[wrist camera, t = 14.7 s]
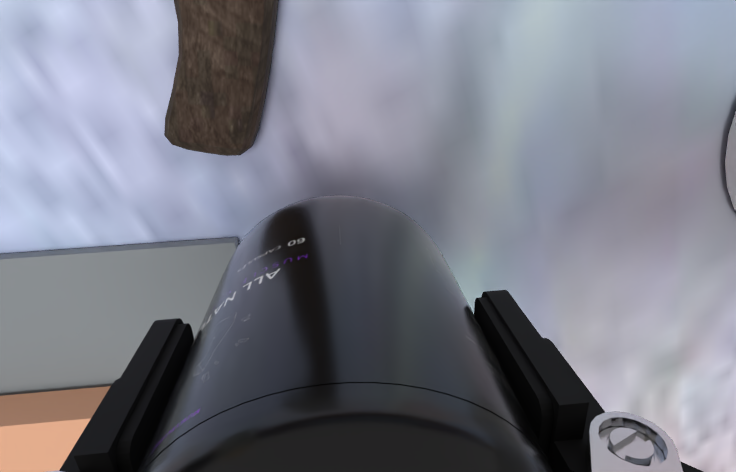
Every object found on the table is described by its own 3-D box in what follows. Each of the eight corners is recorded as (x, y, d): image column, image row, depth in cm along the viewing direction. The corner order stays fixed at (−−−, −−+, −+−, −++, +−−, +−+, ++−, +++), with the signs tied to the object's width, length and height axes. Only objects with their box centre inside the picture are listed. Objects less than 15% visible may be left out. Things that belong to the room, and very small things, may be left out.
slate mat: (237, 237, 20) (234, 242, 20) (283, 506, 27) (282, 516, 26) (-179, 266, 19) (-194, 273, 19) (-24, 538, 26) (-31, 549, 25)
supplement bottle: (228, 173, 13) (-432, 1112, 2) (468, 204, 14) (1096, 915, 3) (218, 376, 15) (-60, 1275, 4) (420, 389, 16) (631, 1144, 5)
